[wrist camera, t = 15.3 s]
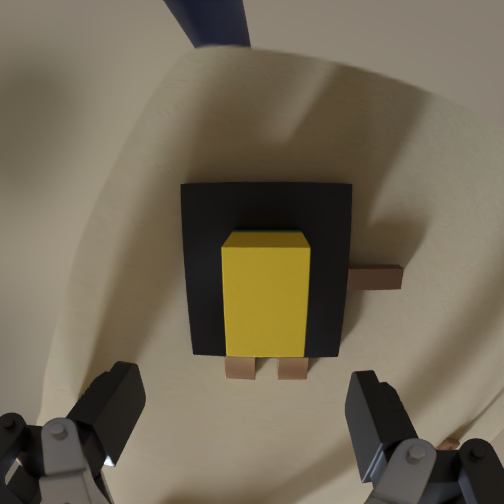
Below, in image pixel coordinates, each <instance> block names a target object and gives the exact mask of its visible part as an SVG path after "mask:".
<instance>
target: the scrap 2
mask: <svg viewBox="0 0 504 504" xmlns="http://www.w3.org/2000/svg"><path fill="white" fill-rule="evenodd" d="M308 362H309V358H278V366H277V380H302V379H307V371H308Z"/></svg>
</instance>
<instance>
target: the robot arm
mask: <svg viewBox="0 0 504 504" xmlns="http://www.w3.org/2000/svg"><path fill="white" fill-rule="evenodd" d="M145 402H146V395H145V390H144V387H143V383H142V379H141V375H140V371H139V368H138V365H137V364H135V363H128V362H122V361H117V362H116V363H115V364H114V366H113V367H112V368H111V370H110V371H109V372H107V371H105V372H104V373H102V374H101V375H99V376H98V377H96V378H95V379H94V381H93V382H92V383H91V384H90V387H89V388H87V390H86V391H85V392H84V394H83V395H82V396H81V398H80V399H79V400H78V402H77V403H76V404H75V406H74V407H73V408H72V410H71V411H70V412H69V414H68V415H67V416H66V418H54V419H52V420H50V421H48V422H47V423H46V424H45V425H44V426H33V425H27V424H26V422H25V421H24V419H23V417H22V416H21V415H19V414H17V413H7V414H4V415H2V416H1V417H0V504H40V503H41V501H42V502H43V504H114V501H113V499H112V496H111V493H110V491H109V488H108V485H107V482H106V480H105V477H104V474H103V471H102V470H101V469H102V467H103V465H104V464H108V465H111V466H114V467H115V466H116V463H117V461H118V459H119V457H120V455H121V453H122V451H123V449H124V447H125V445H126V443H127V441H128V439H129V437H130V435H131V433H132V431H133V429H134V427H135V425H136V423H137V421H138V419H139V417H140V415H141V413H142V411H143V409H144V406H145ZM345 416H346V420H347V424H348V428H349V432H350V436H351V440H352V444H353V448H354V452H355V456H356V460H357V465H358V469H359V473H360V477H361V482H362V483H367V482H372V484H373V488H374V489H373V490H372V492H371V494H370V495H369V497H368V498H367V500H366V501H365V503H364V504H504V468H503V466H502V464H501V462H500V460H499V458H498V456H497V454H496V453H495V451H494V449H493V447H492V446H491V444H490V443H488V442H487V441H485V440H483V439H478V438H474V439H470V440H467V441H466V442H464V443H463V445H462V446H461V447H460V449H459V450H436V449H435V448H434V447H433V445H432V444H431V443H429V442H428V441H426V440H423V439H419V438H418V436H417V433H416V431H415V429H414V427H413V425H412V423H411V421H410V419H409V416H408V414H407V412H406V410H405V409H404V406H403V404H402V402H401V401H400V398H399V396H398V394H397V392H396V390H395V389H394V388H393V387H392V386H390V385H389V384H388V383H387V382H380V383H379V381H378V379H377V376H376V374H375V372H374V371H373V370H368V371H356V372H353V373H352V375H351V379H350V384H349V389H348V393H347V397H346V402H345ZM15 460H17V461H18V463H19V464H20V465H19V466H18V468H17V470H16V471H15V473H14V474H13V476H12V478H11V480H10V481H9V483H8V485H7V486H6V484H5V476H6V474H7V472H8V471H9V469H10V467H11V466H12V464H13V463H14V461H15Z"/></svg>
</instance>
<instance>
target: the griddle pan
mask: <svg viewBox="0 0 504 504" xmlns="http://www.w3.org/2000/svg"><path fill="white" fill-rule="evenodd" d="M181 213H182V234H183V251H184V266H185V279H186V291H187V302H188V313H189V322H190V332H191V341H192V349H193V354H194V355H207V356H224V357H242V356H227V353H226V335H225V317H224V296H223V273H222V246H223V244H224V243H225V242H226V240H227V239H228V237H229V236H230V235H231V233H232V232H233V230H301V231H302V233H303V235H304V237H305V239H306V240H307V242H308V244H309V246H310V248H311V249H310V273H309V293H308V309H307V324H306V337H305V349H304V357H250V358H317V357H338V353H339V346H340V339H341V332H342V324H343V316H344V307H345V298H346V289H347V290H348V291H355V290H394V289H401V284H402V276H403V268H402V267H401V266H400V265H349V251H350V235H351V213H352V184H344V183H316V182H218V183H190V184H181Z"/></svg>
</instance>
